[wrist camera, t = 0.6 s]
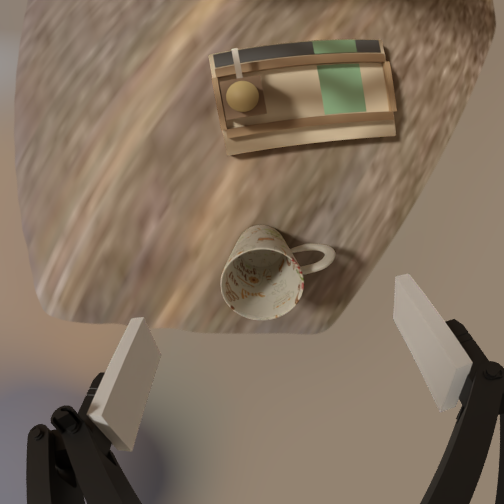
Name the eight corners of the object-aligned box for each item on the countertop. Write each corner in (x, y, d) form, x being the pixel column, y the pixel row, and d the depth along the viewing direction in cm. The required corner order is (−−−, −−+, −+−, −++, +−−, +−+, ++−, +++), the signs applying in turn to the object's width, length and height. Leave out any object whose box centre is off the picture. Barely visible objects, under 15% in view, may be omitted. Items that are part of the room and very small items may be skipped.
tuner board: (210, 57, 31) (207, 53, 29) (377, 42, 30) (384, 37, 27) (228, 154, 36) (226, 157, 34) (391, 134, 34) (399, 136, 32)
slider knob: (218, 57, 30) (211, 47, 25) (254, 51, 30) (254, 40, 24) (229, 119, 33) (224, 120, 28) (265, 113, 32) (267, 113, 27)
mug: (220, 224, 39) (209, 258, 30) (319, 201, 38) (339, 229, 29) (237, 281, 43) (233, 327, 34) (330, 261, 41) (349, 302, 32)
